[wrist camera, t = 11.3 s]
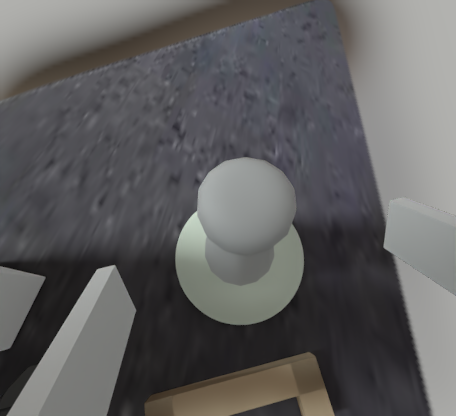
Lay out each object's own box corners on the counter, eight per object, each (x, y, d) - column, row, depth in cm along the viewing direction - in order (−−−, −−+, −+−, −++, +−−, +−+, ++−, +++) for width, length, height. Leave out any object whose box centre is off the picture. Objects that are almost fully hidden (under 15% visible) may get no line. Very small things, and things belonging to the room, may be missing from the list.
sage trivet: (151, 274, 21) (148, 274, 20) (220, 179, 24) (220, 176, 24) (264, 355, 18) (265, 357, 18) (322, 234, 22) (324, 233, 21)
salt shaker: (274, 231, 21) (328, 147, 9) (264, 293, 19) (319, 286, 7) (215, 219, 22) (196, 124, 10) (200, 278, 20) (152, 248, 8)
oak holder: (327, 412, 17) (336, 422, 15) (156, 462, 16) (149, 478, 14) (308, 351, 18) (315, 356, 17) (151, 394, 17) (144, 403, 16)
